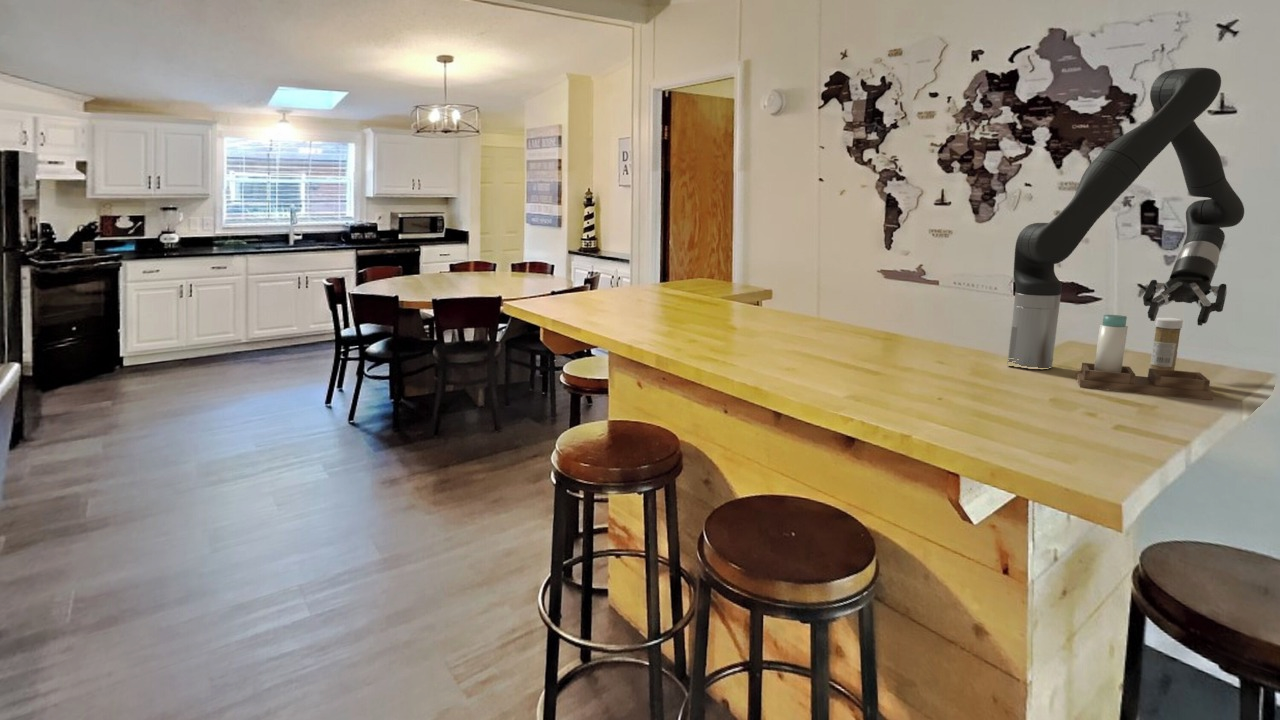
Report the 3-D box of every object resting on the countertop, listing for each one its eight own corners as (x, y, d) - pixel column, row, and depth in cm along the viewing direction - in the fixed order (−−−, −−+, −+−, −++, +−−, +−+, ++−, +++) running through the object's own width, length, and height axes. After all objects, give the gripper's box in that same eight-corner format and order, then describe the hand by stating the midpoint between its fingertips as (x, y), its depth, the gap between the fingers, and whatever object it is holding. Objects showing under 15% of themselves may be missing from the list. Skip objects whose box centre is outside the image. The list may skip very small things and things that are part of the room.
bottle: (1094, 378, 147) (1102, 316, 144) (1092, 373, 151) (1100, 313, 148) (1121, 380, 145) (1130, 318, 142) (1118, 376, 149) (1127, 315, 146)
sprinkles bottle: (1176, 380, 152) (1186, 318, 149) (1167, 383, 150) (1177, 320, 147) (1152, 376, 156) (1161, 316, 153) (1143, 379, 153) (1152, 318, 151)
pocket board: (1079, 387, 146) (1081, 370, 145) (1076, 377, 155) (1078, 361, 154) (1212, 400, 136) (1215, 382, 135) (1200, 388, 145) (1203, 372, 144)
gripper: (1156, 253, 162) (1135, 306, 157) (1235, 255, 152) (1216, 313, 147) (1158, 274, 167) (1138, 327, 162) (1235, 279, 157) (1216, 335, 151)
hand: (1175, 320), depth 154 cm, fingers open, 8 cm apart
